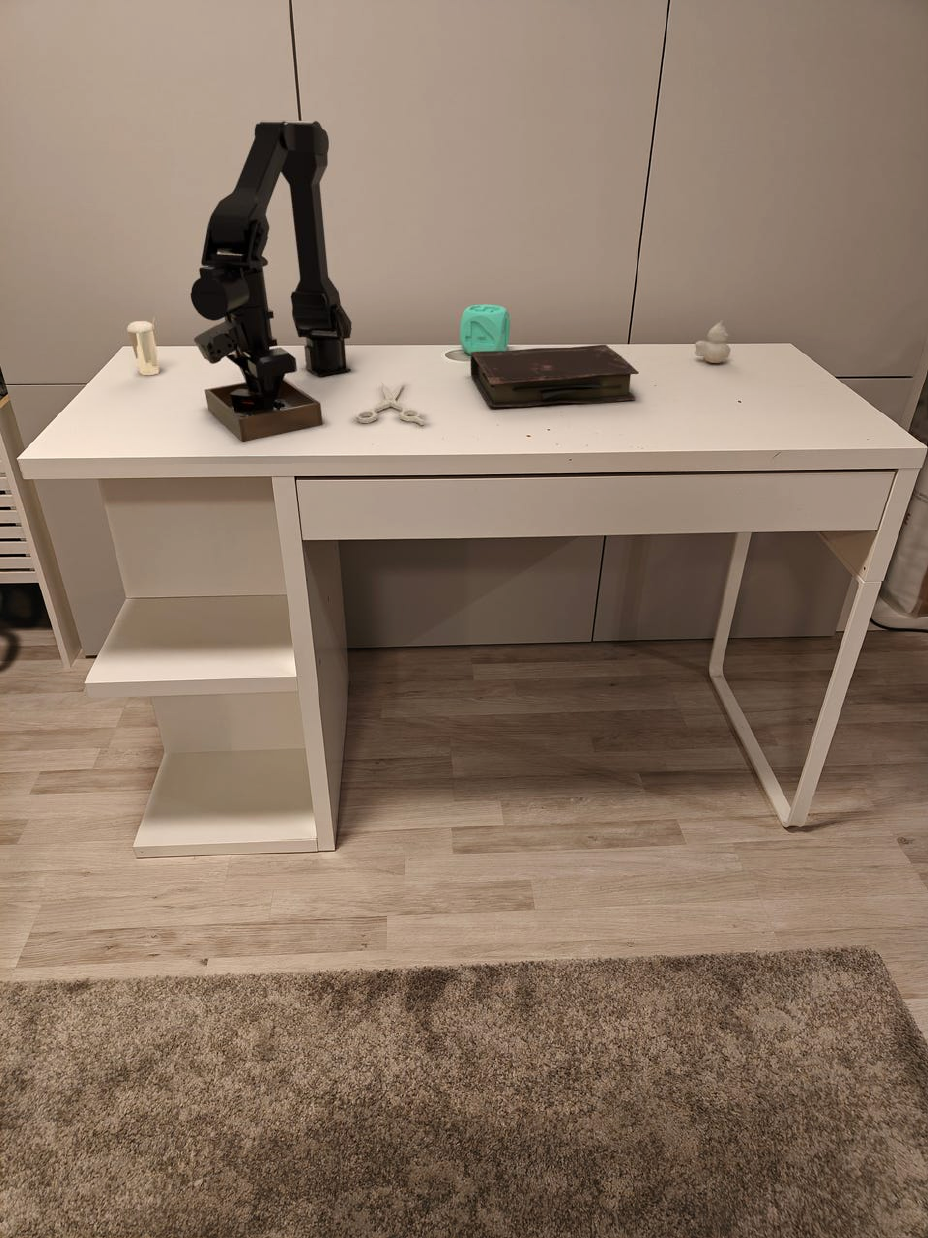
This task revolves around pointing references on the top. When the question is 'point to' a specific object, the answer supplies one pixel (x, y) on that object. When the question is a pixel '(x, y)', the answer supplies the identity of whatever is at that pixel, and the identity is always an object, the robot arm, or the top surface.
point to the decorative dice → (485, 328)
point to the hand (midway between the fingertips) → (262, 405)
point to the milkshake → (144, 346)
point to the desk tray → (266, 423)
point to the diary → (552, 376)
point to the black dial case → (250, 402)
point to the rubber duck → (714, 345)
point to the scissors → (391, 402)
